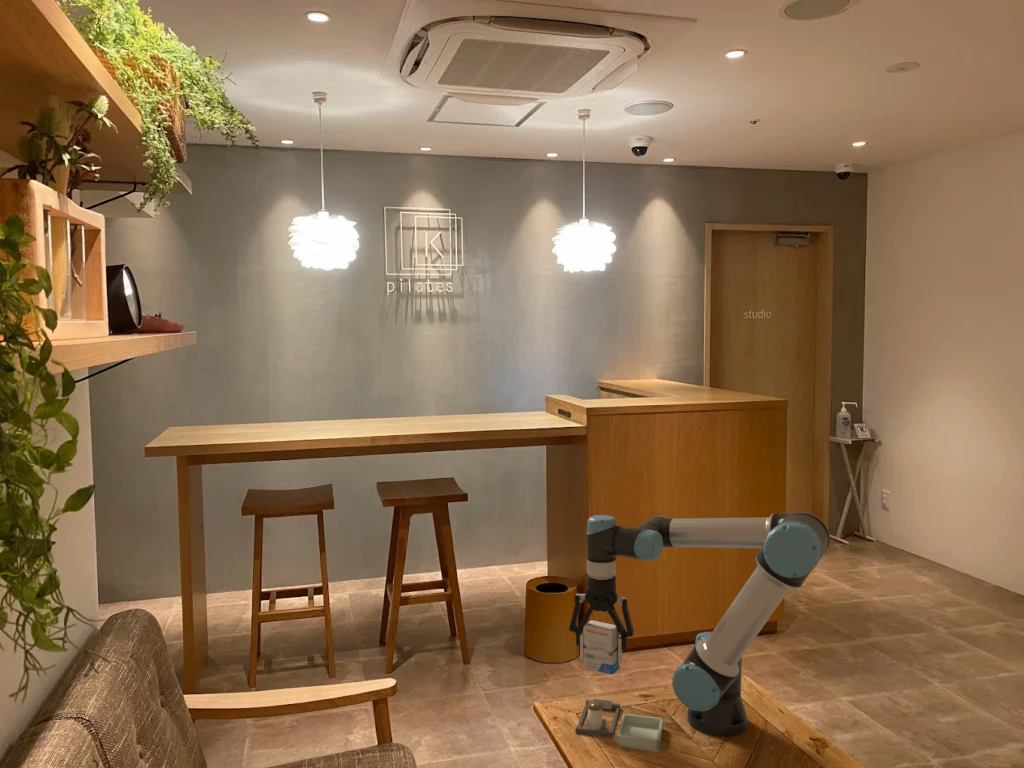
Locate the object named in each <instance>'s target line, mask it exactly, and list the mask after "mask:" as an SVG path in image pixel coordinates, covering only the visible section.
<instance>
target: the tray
mask: <svg viewBox="0 0 1024 768" xmlns="http://www.w3.org/2000/svg"><path fill="white" fill-rule="evenodd" d="M663 730H664V718H663V717H656V716H648V715H640V714H639V715H638V714H632V713H631V714H630V713H623V712H622V716H621V720H620V723H619V727H618V730H617V735H616V747H617V748H625V749H631V750H639V751H640V750H641V751H647V752H652V753H653V752H654V753H660V748H661V744H662V743H661V742H662V736H663Z"/></svg>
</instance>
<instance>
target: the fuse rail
mask: <svg viewBox="0 0 1024 768" xmlns="http://www.w3.org/2000/svg"><path fill="white" fill-rule="evenodd" d="M590 701H599V702H601V703H602V704H603V708H602V710H603V709H604V710H615V713H614V714H613V720H612V723H611V724H610V725H611V726H610V730H606V729H607V717H606V718H605V717H602V730H591V729H589V728H588V715H587V713H588V702H590ZM620 710H621V703H615V702H613V700H612V699H606V698H598V697H593V699H592V700H589V699H586V700H585V705H584V708H583V710H582V713H581V715H580V718H579V721H578V722H577V723H578V724H577V726H575V733H576V734H582V735H589V736H595V737H597V736H598V737H604V738H611V739H612V737H613V734H614V731H615V727H616V725H617V721H618V719H619V718H618V717H619V713H620ZM586 715H587V716H586ZM585 717H586V727H585V726H584V727H583V726H582V725H583V723H584V721H585Z"/></svg>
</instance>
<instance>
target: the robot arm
mask: <svg viewBox="0 0 1024 768" xmlns="http://www.w3.org/2000/svg"><path fill="white" fill-rule="evenodd" d="M586 523H587V525H586V552H587V553H586V574H587V577H586V593H580V592H577V593H576V594H575V596H574V602H575V603H574V608H573V612H572V616H571V620H570V624H569V627H568V630H569V631H570V632H573V633H575V635H576V637H575V644H576V646H577V647H579V660H583V661H584V659H583V627H584V626H585V624H586V623H588V620H589V618H590V616H591V614H592V613H593V611H594V612H604V613H608V616H610V618H611V620H612V622H613V623H614V624H613V625H615V626H616V628H617V630H618V632H619V638H618V663H619V664H622V662H623V651H626V649H627V645H628V643H627V639H628V637H629V638H630V637H633V636H634V631H635V630H634V626H633V623H632V618H631V615H630V610H629V606H628V605H629V604H628V601H629V597H628V596H624V597H623V596H618V594H617V591H616V590H617V589H616V588H617V578H616V575H617V557H624V558H629V559H636V560H640V561H653V562H654V561H657V560H658V559H659V558H660V556H661V555H662V552H663V548H707V549H708V548H709V549H711V548H712V549H713V548H717V549H719V548H721V549H723V548H725V549H759V551H758V552H757V554H756V555H755V561H756V567H755V570H754V571H753V572H752V573H751V575H750V576H749V578H748V579H747V581H746V582H745V584H744V585H743V587H742V588H741V590H740V591H739V592H738V593H737V596H736V597H735V598H734V600H733V601H732V602H731V604H730V606H729V607H728V608H727V610H726V611H725V613H724V614H723V616H722V617H721V619H720V620H719V621H718V623H717V625H716V626H715V627H714V629H712V630H713V631H704V632H700V633H698V634H697V635H696V636H695V641H694V643H695V645H694V646H693V648H692V649H691V650H690V652H689V654H688V655H686V658H685V659H684V661H683V662H682V664H680V665H679V666H677V667H676V669H675V671H674V673H673V676H672V680H671V684H672V685H671V686H672V688H673V693H674V694H675V696H676V697H677V700H678V701H679V702H680V703H682V704H683V705H684V706H685V707H687V722H688V724H689V725H690V726H691V727H693V729H696V730H697V731H699V732H701V733H704V734H707V735H713V736H717V737H718V736H719V737H730V736H736V735H740V734H742V733H744V732H745V731H746V730H747V727H748V715H747V710H746V707H745V704H744V701H743V698H742V673H743V672H742V665H743V664H742V662H743V656H744V654H745V653H746V651H747V650H748V649H749V647H750V646H751V644H752V643H753V642H754V640H755V639H756V638H757V636H758V634H759V633H760V632H761V631H762V629H763V627H764V626H765V624H767V622H768V621H769V619H770V618H771V616H772V615H773V614H774V612H775V611H776V610H777V608H778V606H779V605H780V604H781V602H782V601H783V600H784V598H785V597H786V595H787V594H788V593H789V591H790V590H791V589H793V590H794V589H800V588H801V587H802V585H803V584H804V582H805V581H806V580H807V579H808V577H809V576H810V574H812V572H813V571H814V569H815V568H816V567H817V565H818V564H819V562H820V560H821V559H822V558H823V557H824V556H825V554H826V553H827V551H828V549H829V548H830V544H831V533H830V530H829V529H830V528H829V527H828V525H827V524H826V523H825V521H824V520H823V519H822V518H821V517H819V516H818V515H816V514H814V513H811V512H807V511H806V512H805V511H797V512H795V511H793V512H774V513H773V512H772V513H771V514H770V516H769V517H702V518H701V517H696V518H695V517H692V518H687V517H686V518H685V517H684V518H683V517H681V518H680V517H679V518H678V517H677V518H669V517H667V516H665V515H658V516H653V517H651V518H649V519H648V520H646V521H645V522H643V523H641V524H639V525H637V526H635V527H626V526H622V525H621V526H620V525H617V520H616V517H614V516H612V515H607V514H598V515H597V514H595V515H592V516H590V517H589V518H588V519H587V522H586ZM584 600H586V602H587V603H588V605H589V606H588V609H587V610H586V612H585V614H584V616H583V618H582V619H581V622H580V623H579V625H578V626H577V621H578V616H579V615H580V614H579V613H580V610H581V606H582V603H583V602H584ZM616 603H618V605H619V606H621V612H622V615H623V620H624V624H625V626H624V625H623V622H622V621H621V619H620V617H619V615H618V613H617V611H616V608H615V606H614V605H615V604H616ZM625 627H626V628H625Z"/></svg>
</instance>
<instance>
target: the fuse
mask: <svg viewBox="0 0 1024 768" xmlns="http://www.w3.org/2000/svg"><path fill="white" fill-rule="evenodd" d="M602 708H603V704H602V703H601V702H599V701H593V700H591V701H590V702H588V710H587V716H588V726H587V728H589V729H591V730H603V728H602V718H603V709H602Z"/></svg>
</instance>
